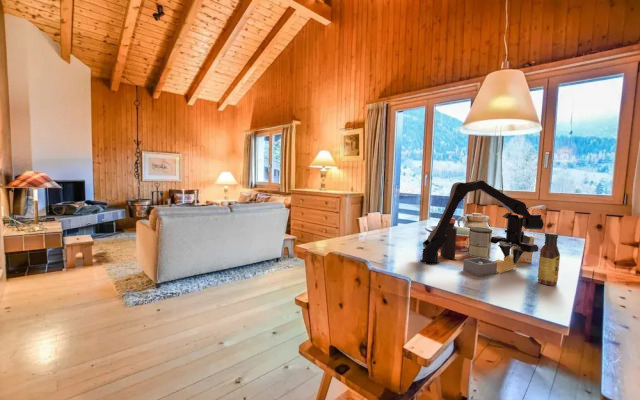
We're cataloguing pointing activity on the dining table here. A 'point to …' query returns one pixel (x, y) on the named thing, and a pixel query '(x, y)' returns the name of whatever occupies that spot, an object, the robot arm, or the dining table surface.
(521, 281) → the dining table surface
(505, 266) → the lid
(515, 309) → the dining table surface
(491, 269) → the tub
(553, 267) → the sauce bottle
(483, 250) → the coffee can
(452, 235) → the vinegar
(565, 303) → the dining table surface
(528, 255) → the supplement box
